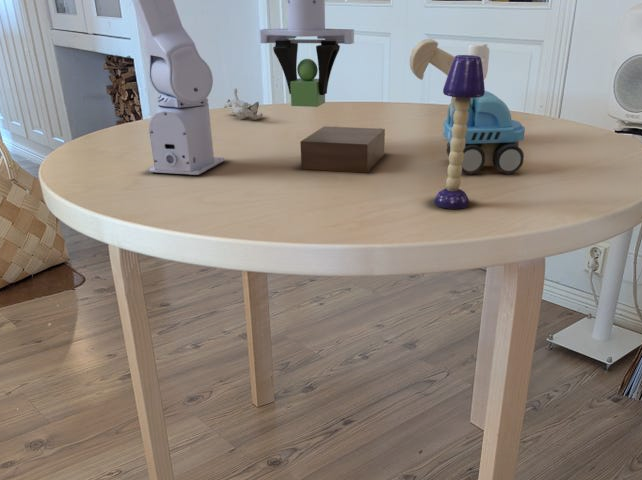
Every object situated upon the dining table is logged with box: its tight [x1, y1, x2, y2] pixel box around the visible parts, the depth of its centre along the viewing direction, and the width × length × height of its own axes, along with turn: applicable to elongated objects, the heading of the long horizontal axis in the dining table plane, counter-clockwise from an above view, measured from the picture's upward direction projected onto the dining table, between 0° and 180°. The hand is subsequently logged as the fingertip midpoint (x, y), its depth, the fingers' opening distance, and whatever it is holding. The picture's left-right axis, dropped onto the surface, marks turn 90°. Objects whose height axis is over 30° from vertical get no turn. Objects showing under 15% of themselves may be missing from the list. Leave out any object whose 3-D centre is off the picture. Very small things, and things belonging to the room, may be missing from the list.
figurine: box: [467, 43, 490, 80], centre depth 112 cm, size 7×9×15 cm
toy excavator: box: [409, 38, 526, 175], centre depth 93 cm, size 9×17×17 cm, turn 91°
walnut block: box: [300, 125, 386, 174], centre depth 100 cm, size 12×10×4 cm
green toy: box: [290, 58, 326, 108], centre depth 105 cm, size 4×4×7 cm
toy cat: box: [223, 88, 264, 121], centre depth 134 cm, size 8×5×12 cm
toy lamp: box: [433, 54, 486, 210], centre depth 77 cm, size 5×5×17 cm
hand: (308, 93), depth 105 cm, fingers closed on green toy, 4 cm apart
